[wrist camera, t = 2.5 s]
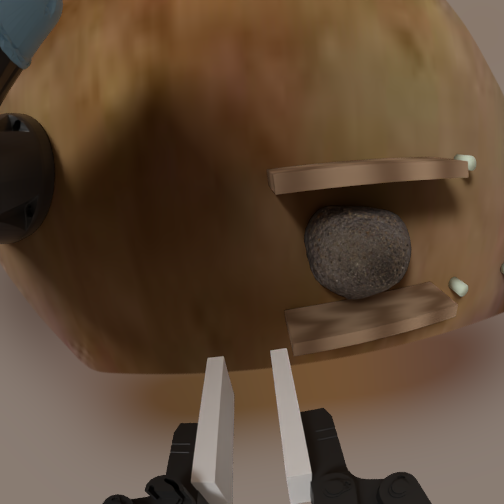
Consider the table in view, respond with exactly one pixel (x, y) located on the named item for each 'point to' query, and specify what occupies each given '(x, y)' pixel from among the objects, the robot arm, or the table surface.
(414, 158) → the channel
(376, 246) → the stone
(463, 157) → the zone posts
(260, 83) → the table surface
